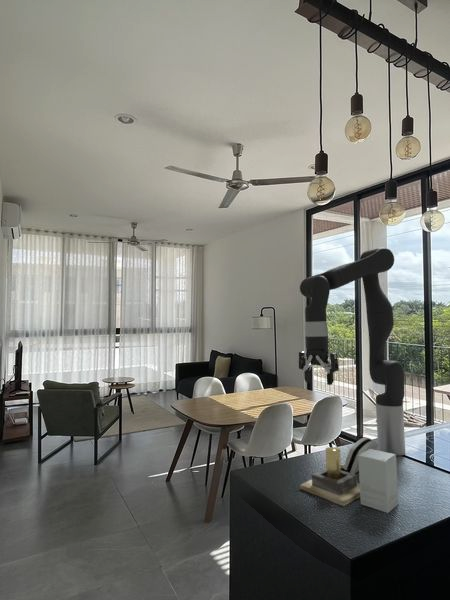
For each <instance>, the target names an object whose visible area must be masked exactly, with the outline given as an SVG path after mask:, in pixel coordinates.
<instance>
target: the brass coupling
mask: <svg viewBox="0 0 450 600" xmlns="http://www.w3.org/2000/svg"><path fill="white" fill-rule="evenodd" d="M341 458H342V457H341V448H338V447H335V446H334V447H333V446H331V447H330V446H329V447H326V448H325V468H326V473H327V477H328V478H331V479H334V480H339V479H341V465H342V463H341Z"/></svg>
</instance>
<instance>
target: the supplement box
mask: <svg viewBox="0 0 450 600" xmlns="http://www.w3.org/2000/svg"><path fill="white" fill-rule="evenodd" d="M358 461H359V471H358V475H359V477H358V478H359V479H358V480H359V481H358V482H359V484H360V497H359V498H360V505H363V506H365V507H369V508H372V509H375V510H378V511H380V512H383V513H385V514H386V513H387V514H389V513H390V512H391V511H392V510H393V509H394V508H395V507H397V506H399V503H400V502H399V487H398V486H399V484H398V471H397V470H398V469H397V467H398V466H397V456H396V454H392V453H387V452H382V451H378V449H376V450H373V449H368V450H367V451H365V452H363V453H361V454H360V455H358Z"/></svg>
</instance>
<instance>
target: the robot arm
mask: <svg viewBox="0 0 450 600" xmlns="http://www.w3.org/2000/svg"><path fill="white" fill-rule="evenodd" d="M394 264H395V255H394V253H393V252H392V250H390V249H389V248H387V247H378V248H373V249H369V250H366V251H363V252H362V253H361V254H360V256H359V259H358V260H355V261H353V262H348V263H345V264H342V265H338V266H336V267H333V268H331V269H329V270H327V271H325V272H322V273H319V274H316V275H314V274H313V275H312V276H309V277H306V278H304V279H303V280H302V281H301V282H300V284H299V292H300V293H301V295H303V297H305V298H309V299H310V298H311V299H310V303H309V304H308V305H307V304H306V306H305V308H304V316H305V318H304V319H305V325H304V332H305V333H304V334H305V335H304V337H305V338H304V339H305V349H306V351H299V352H298V369H299V370H302V371H303V376H304V378H303V379H304V381H305V383H306V384H307V383H311V381H312V376H311V374H312V373H311V371H310V370H311V369H312V367H313V366H321V368H323V369H324V370H325V371H326V385H327V386H330V385H332V386H333V383H334V381H335V380H334V373H337V372H338V371H339V369H340V367H339V366H340V365H339V359H338V353H336V352H331V353H330V352H329V329H328V323H327V306H328V303H329V297H330V292H331V290H336V289H339V288H341V287H344V286H346V285H348V284H350V283H352V282H354V281H356V280H359V279H362V283H363V290H364V298H365V299H364V301H365V308H366V322H367V331H368V344H369V345H368V347H369V356H368V357H369V359H368V361H369V362H368V365H369V366H368V368H369V375H370V379H371V380H372V382H373V383H374V384H377V385H380V386H381V385H382V386H386V388H385V392H384V393H380V394H377V395H375V413H376V415H375V417H376V434H377V435H376V436H377V444H378V445H377V450H378V451H382V452H387V453H392V454H396V457H397V456H404V455H405V454H406V440H405V439H406V438H405V437H406V436H405V434H406V433H405V419H404V418H405V417H404V397H405V369H404V367H403V365H402V364H401V362H399V361H397V360H389V359H388V360H387V359H386V355H385V348H386V344H387V341H388V339H389V338H390V336H391V333H392V331H393V329H394V325H395V321H394V310H393V306H392V304H391V302H390V300H389V298H388V297H387V295H386V294H385V292H384V291H383V289H382V287H381V285H380V279H379V273H385V272H388V271H389V270H391V269H392V267H393V266H394ZM328 359H329V360H328Z"/></svg>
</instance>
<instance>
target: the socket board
mask: <svg viewBox="0 0 450 600" xmlns="http://www.w3.org/2000/svg"><path fill="white" fill-rule="evenodd" d="M357 481H358V480H357V475H356V474H351V473H350V472H348V471H346V470H343V469H342V470H341V479H339V480H334V479H331V478H328V477H327V473H326V467H325V468H323V469H321V470H318V471H317V472H314V473H312V474H311V479H309V480H307V481H305V482H302V483H301V484H300V486H299V487H300V488H299V489H300V490H302V491H304V492H307V493H308V494H309V493H310V494H312V495H314V496H317V497H320V498H322V499H325V500H327V501H330V502H331V503H334V504H337V505H340V506H342V507H346V506H347V505H349V504H350V503H352V502H354V501H355V500H357V499H359V498H360V482H359V483H358V482H357Z"/></svg>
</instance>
